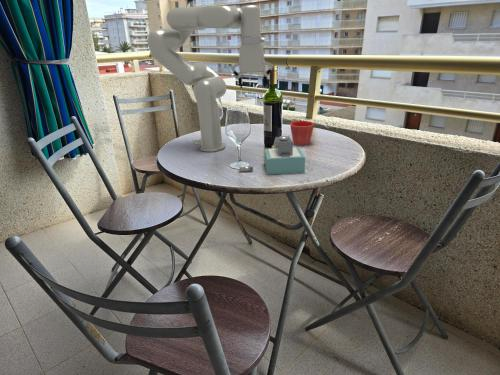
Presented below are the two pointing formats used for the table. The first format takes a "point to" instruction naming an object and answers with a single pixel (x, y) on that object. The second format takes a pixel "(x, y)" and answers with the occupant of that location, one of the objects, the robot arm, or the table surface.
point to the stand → (284, 162)
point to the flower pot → (301, 132)
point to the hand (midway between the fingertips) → (252, 87)
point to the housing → (284, 146)
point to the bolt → (246, 169)
